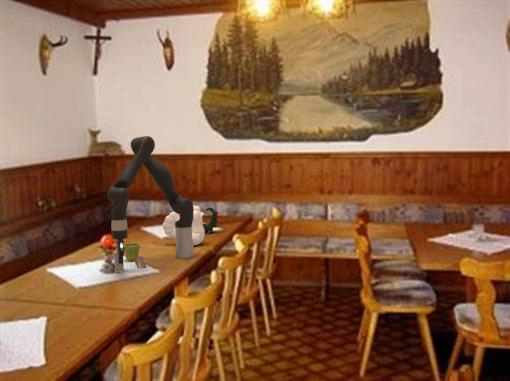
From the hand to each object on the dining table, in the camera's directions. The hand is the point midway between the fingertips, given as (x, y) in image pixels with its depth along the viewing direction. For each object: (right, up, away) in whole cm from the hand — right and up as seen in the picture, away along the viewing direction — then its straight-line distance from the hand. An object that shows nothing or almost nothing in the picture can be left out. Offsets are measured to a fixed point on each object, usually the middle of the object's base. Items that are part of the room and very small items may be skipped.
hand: (120, 263), depth 268 cm
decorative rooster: (+22, +2, +69) cm, 73 cm away
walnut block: (+8, -2, +14) cm, 16 cm away
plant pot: (-2, -3, +32) cm, 32 cm away
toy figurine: (+28, +6, +107) cm, 110 cm away
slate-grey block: (-3, -5, +8) cm, 10 cm away
